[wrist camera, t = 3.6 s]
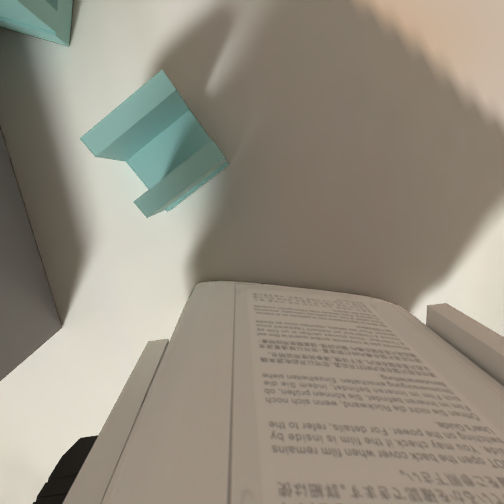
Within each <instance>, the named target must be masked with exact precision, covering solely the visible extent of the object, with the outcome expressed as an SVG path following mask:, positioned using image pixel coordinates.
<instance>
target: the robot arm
mask: <svg viewBox="0 0 504 504" xmlns="http://www.w3.org/2000/svg"><path fill="white" fill-rule="evenodd" d="M426 326H427V327H429V328H430V329H431V330H432V331H434V332H435V333H436V334H437V335H439V336H440V337H441V338H443V339H444V340H445V341H446V342H447V343H449V344H450V345H452V346H453V347H454V348H455V349H456V350H458V351H459V352H460V353H462V354H463V355H464V356H466V357H467V358H468V359H469V360H471V361H472V362H473V363H474V364H476V365H477V366H478V367H480V368H481V369H482V370H483V371H485V372H486V373H487V374H489V375H490V376H491V377H493V378H494V379H495V380H496V381H497V382H499V383H500V384H501V385H502V386H504V337H503V336H501V335H499V334H497V333H496V332H494V331H492V330H491V329H489V328H487V327H486V326H484V325H482V324H481V323H479V322H477V321H475V320H474V319H472V318H470V317H469V316H467V315H465V314H464V313H462V312H460V311H458V310H457V309H455V308H453V307H452V306H450V305H448V304H447V303H443V304H435V305H427V318H426ZM168 344H169V340H168V339H163V340H156V341H148V343H147V345H146V347H145V349H144V350H143V352H142V354H141V356H140V358H139V360H138V362H137V364H136V366H135V367H134V369H133V371H132V373H131V375H130V377H129V379H128V381H127V383H126V384H125V386H124V388H123V390H122V392H121V394H120V396H119V398H118V400H117V401H116V403H115V405H114V407H113V409H112V411H111V413H110V415H109V417H108V418H107V420H106V422H105V424H104V426H103V428H102V430H101V432H100V434H99V436H91V437H84V438H80V439H79V440H78V441H77V442H76V443H75V444H74V445H73V446H72V447H71V448H70V449H69V450H68V451H67V452H66V453H65V454H64V455H63V456H62V457H61V459H60V461H59V462H58V464H57V465H56V467H55V469H54V470H53V472H52V473H51V475H50V477H49V478H48V479H49V480H48V482H47V483H45V485H44V486H43V488H42V490H41V491H40V493H39V494H38V496H37V500H36V502H33V504H101V503H102V501H103V498H104V496H105V494H106V491H107V489H108V486H109V484H110V482H111V479H112V477H113V474H114V472H115V470H116V467H117V465H118V462H119V460H120V458H121V455H122V453H123V451H124V448H125V446H126V443H127V441H128V439H129V436H130V434H131V432H132V429H133V427H134V424H135V422H136V420H137V417H138V415H139V413H140V410H141V408H142V405H143V403H144V401H145V398H146V396H147V394H148V391H149V389H150V386H151V384H152V382H153V379H154V377H155V375H156V372H157V370H158V368H159V365H160V363H161V361H162V359H163V356H164V354H165V351H166V349H167V346H168Z"/></svg>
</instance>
